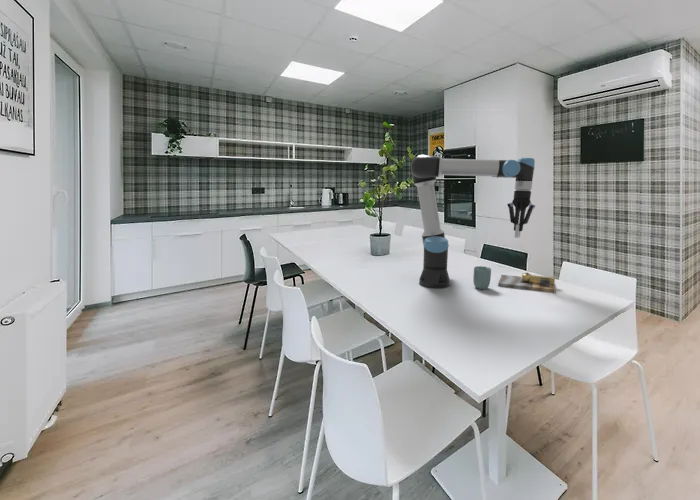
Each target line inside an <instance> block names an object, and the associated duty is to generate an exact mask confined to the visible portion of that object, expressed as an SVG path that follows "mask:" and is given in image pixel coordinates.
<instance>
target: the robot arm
mask: <svg viewBox="0 0 700 500" xmlns="http://www.w3.org/2000/svg"><path fill="white" fill-rule="evenodd" d="M535 162H536V161H535V158H533V157H520V158H518V159H517V160H516V159H477V158H476V159H472V158H468V159H466V158H442V156H441V155H428V154H418V155H417V156H415V157H414V158H413V159H412V161H411V163H410V171H411V175H412V181H413V185H414V186H415V187H416V188H417V194H418V195H417V196H418V201H419V207H420V212H421V221H422V225H423V233H422V235H421V237H422V238H421V239H422V245H423V268H422V271H421V274H420V277H419V279H418V280H419V285H420V284H421V286H423V287H426V288H430V289H431V288H432V289H443V288H445V289H446V288H448V287H450V285H451V279H450V276H449V273H448V272H449V271H448V260H449V259H448V257H449V255H448V254H449V240H448V239H447V238H446V236H445V231H444V230H442V229H441V224H440V217H439V210H438V204H437V198H436V197H437V196H436V189H435V183H436V181H437V178H439V177H440V176H459V177H460V176H463V177H466V176H467V177H468V176H469V177H492V178H497V179H498V178H504V179H505V178H506V179H507V178H509V179H510V178H511V179H512V178H514V179H515V182H514V183H515V184H514V189H515V190H514V193H513V199H512V202H509V203H507V208H508V212H509V218H510V219H509V220H510V223H512V224H513V231H514V238H517V239H518V238H520V237H521V232H523V229H524V225H526V224H528V223H529V220H530V217H531V215H532V213H533V210H534V209H535V208H536V205H535V204H533V203H532V202H531V195H532V191H531V190H532V189H533V178H534V171H535ZM527 208H528V209H527Z"/></svg>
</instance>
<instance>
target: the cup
mask: <svg viewBox="0 0 700 500" xmlns="http://www.w3.org/2000/svg"><path fill="white" fill-rule="evenodd" d="M491 277H492V268H491V267H489V266H483V265H480V266H474V267H473V285H474V287H475V288H476V289H477V290H478V289H479V290H486V289H488V288H489V287H490V284H491V279H492V278H491Z"/></svg>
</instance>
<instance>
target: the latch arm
mask: <svg viewBox="0 0 700 500" xmlns="http://www.w3.org/2000/svg"><path fill="white" fill-rule="evenodd" d="M521 277H522V281H523V282H533V283H540V279H547V280H550V284H551V285H554V286H555V281H556V278H555V277H554V276H544V275H536V274H534V275H533V274H531V273H529V272H523V273H522V274H521Z"/></svg>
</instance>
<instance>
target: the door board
mask: <svg viewBox="0 0 700 500" xmlns="http://www.w3.org/2000/svg"><path fill="white" fill-rule="evenodd" d="M497 286H498V287H500V288H501V287H502V288H503V287H504V288H511V289H518V290H525V291H535V292H543V293H544V292H545V293H553V294H555V292H556V289H555V284H554V285H551V284H550V280H547V279H540V283H533V282H523V281H522V276H517V275H511V274H510V275H509V274H501V275H500V278H499V280H498V283H497Z"/></svg>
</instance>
